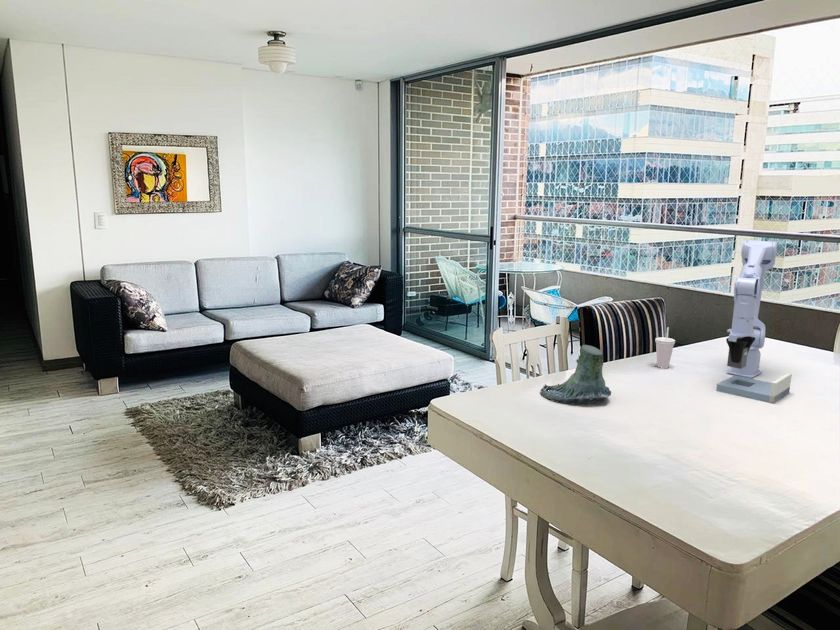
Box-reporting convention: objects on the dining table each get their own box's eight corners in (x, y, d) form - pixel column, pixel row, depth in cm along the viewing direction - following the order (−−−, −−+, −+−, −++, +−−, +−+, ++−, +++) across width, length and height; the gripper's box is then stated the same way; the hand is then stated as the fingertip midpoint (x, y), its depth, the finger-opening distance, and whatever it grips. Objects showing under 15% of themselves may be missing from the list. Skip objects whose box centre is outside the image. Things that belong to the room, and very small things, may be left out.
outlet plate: (733, 381, 203) (735, 362, 202) (789, 393, 192) (791, 373, 191) (716, 390, 194) (718, 371, 193) (773, 403, 183) (776, 383, 181)
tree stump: (559, 383, 201) (576, 330, 196) (615, 412, 189) (636, 358, 184) (527, 393, 188) (545, 337, 182) (586, 426, 176) (607, 367, 170)
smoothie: (669, 370, 214) (673, 329, 212) (650, 367, 218) (653, 327, 215) (675, 366, 219) (678, 326, 217) (656, 363, 223) (659, 324, 220)
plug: (732, 363, 198) (734, 344, 197) (746, 366, 195) (748, 347, 194) (727, 366, 195) (729, 347, 194) (741, 369, 192) (743, 349, 191)
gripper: (738, 312, 200) (734, 354, 202) (720, 318, 190) (715, 362, 193) (763, 315, 195) (757, 358, 197) (744, 322, 185) (739, 367, 188)
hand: (738, 360), depth 195 cm, fingers closed on plug, 4 cm apart
